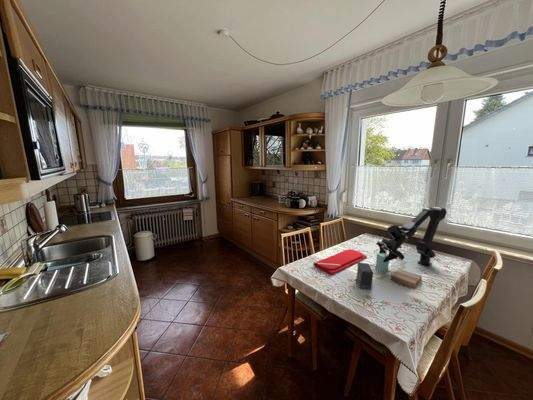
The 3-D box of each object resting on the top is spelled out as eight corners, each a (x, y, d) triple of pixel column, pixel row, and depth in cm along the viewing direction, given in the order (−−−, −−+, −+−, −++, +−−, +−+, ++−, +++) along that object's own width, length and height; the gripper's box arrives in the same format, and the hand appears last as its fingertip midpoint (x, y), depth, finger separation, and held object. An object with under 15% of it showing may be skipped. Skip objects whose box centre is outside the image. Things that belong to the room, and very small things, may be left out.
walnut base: (398, 273, 138) (399, 268, 137) (421, 281, 129) (421, 276, 128) (390, 279, 130) (391, 275, 130) (413, 288, 121) (414, 283, 121)
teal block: (382, 266, 146) (383, 252, 144) (388, 270, 141) (389, 256, 139) (375, 267, 145) (377, 253, 143) (381, 271, 140) (382, 256, 138)
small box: (372, 289, 121) (374, 272, 119) (359, 288, 122) (361, 271, 120) (367, 279, 131) (369, 263, 129) (356, 278, 132) (357, 262, 130)
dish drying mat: (367, 258, 159) (367, 253, 159) (332, 276, 135) (332, 271, 134) (348, 251, 172) (348, 246, 171) (312, 267, 147) (312, 261, 147)
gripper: (379, 229, 148) (364, 246, 148) (402, 239, 130) (384, 258, 130) (388, 239, 151) (373, 256, 151) (412, 250, 133) (394, 269, 133)
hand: (380, 259), depth 141 cm, fingers closed on teal block, 5 cm apart
